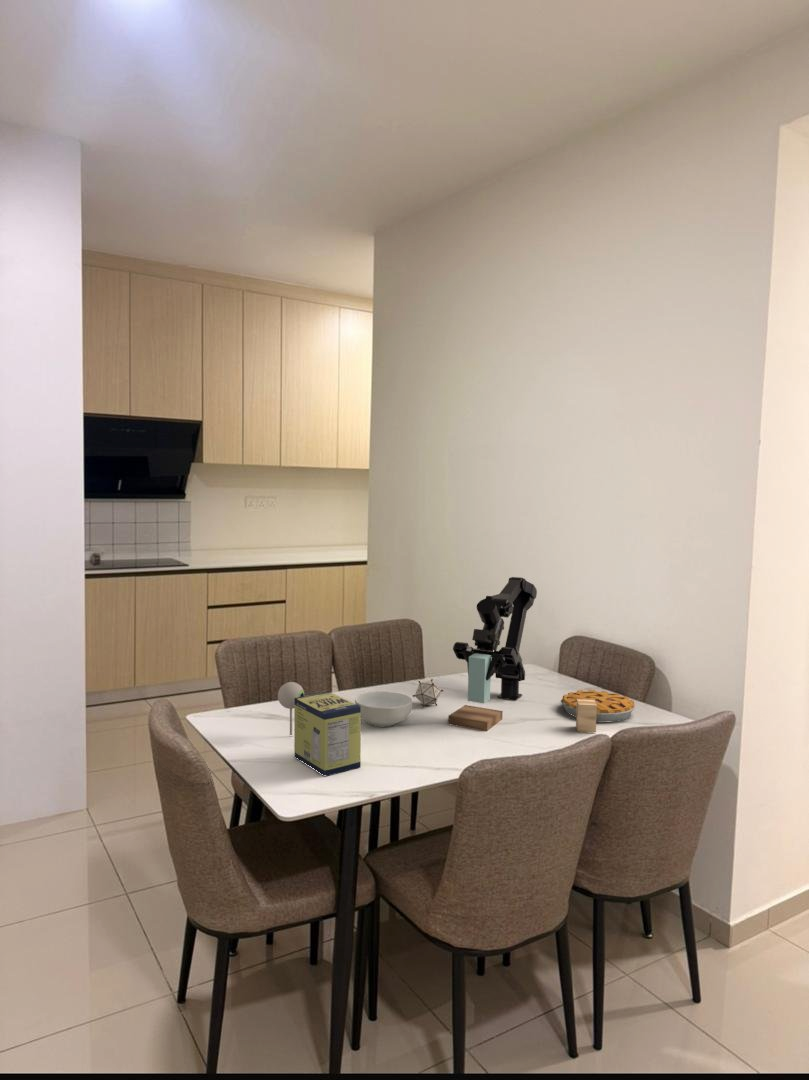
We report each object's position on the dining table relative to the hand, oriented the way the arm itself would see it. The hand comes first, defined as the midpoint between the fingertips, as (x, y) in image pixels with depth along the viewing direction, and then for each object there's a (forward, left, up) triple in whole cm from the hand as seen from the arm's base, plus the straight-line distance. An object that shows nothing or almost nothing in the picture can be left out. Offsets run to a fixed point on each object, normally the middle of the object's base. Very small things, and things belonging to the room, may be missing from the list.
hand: (477, 678), depth 218 cm
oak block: (-11, +29, -13) cm, 34 cm away
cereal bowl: (+12, -24, -14) cm, 30 cm away
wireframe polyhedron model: (-9, -20, -14) cm, 26 cm away
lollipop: (+35, -40, -14) cm, 55 cm away
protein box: (+46, -21, -14) cm, 53 cm away
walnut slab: (-2, -1, -14) cm, 14 cm away
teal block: (-1, 0, -7) cm, 7 cm away
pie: (-29, +28, -14) cm, 42 cm away
